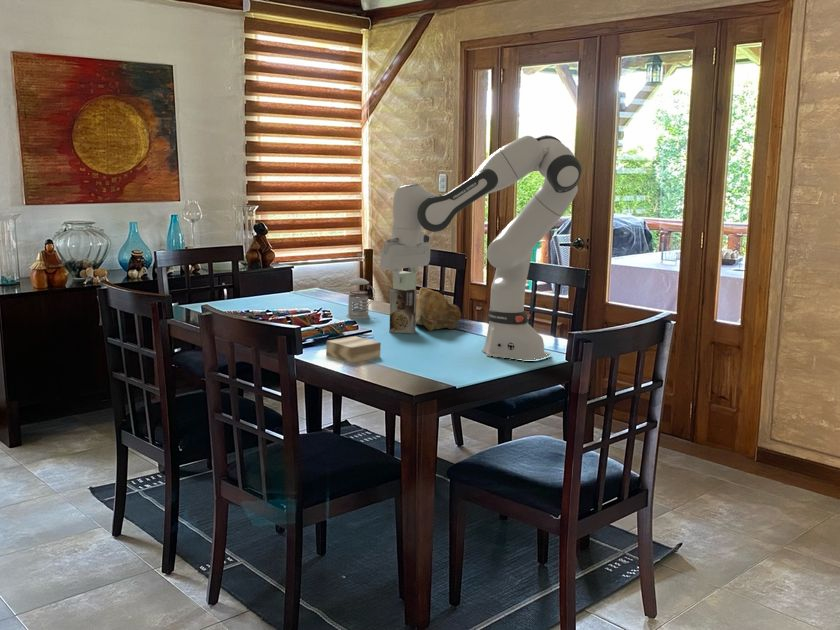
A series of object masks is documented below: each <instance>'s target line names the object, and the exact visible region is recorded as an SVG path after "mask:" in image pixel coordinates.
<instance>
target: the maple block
mask: <svg viewBox="0 0 840 630" xmlns="http://www.w3.org/2000/svg"><path fill="white" fill-rule="evenodd" d="M325 346H326V347H325V348H326V350H325V351H326V353H325V354H326V356H328V357H331V358H334V359H338V360H341V361H345V362H348V363H356V362H361V361H367V360H372V359H378V358H381V342H379V341H377V340H376V341H375V340H373V339H369V338H364V337H360V336H357V335H354V336H353V335H352V336H347V337H342V338H335V339H329V340H326V345H325Z"/></svg>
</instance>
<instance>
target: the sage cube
mask: <svg viewBox="0 0 840 630" xmlns="http://www.w3.org/2000/svg"><path fill="white" fill-rule="evenodd" d="M399 274H400V277H402V283H395V277H394V275H393V274H392V275H393V278H392V279H393V280H392V281H393V282H392V287H393V289H399V290H405V291H406V290H412V289H416V290H417V273H413V272H411V271H404V270H402V271H401V270H400V272H399Z"/></svg>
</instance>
